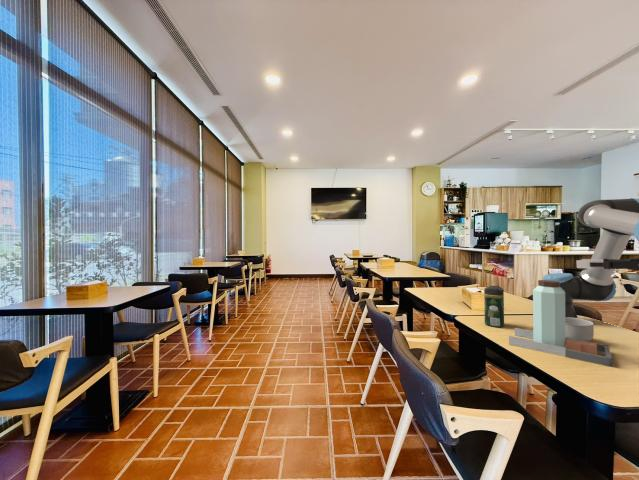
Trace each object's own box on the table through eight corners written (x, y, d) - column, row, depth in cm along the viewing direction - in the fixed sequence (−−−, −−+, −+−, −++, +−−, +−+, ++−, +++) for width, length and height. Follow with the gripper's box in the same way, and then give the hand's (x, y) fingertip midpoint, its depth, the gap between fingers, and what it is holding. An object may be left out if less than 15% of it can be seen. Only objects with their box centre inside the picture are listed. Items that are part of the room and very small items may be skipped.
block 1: (580, 352, 100) (580, 341, 100) (581, 355, 97) (581, 344, 97) (565, 349, 103) (565, 338, 103) (565, 352, 100) (565, 341, 100)
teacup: (601, 346, 106) (601, 325, 106) (568, 344, 108) (568, 323, 108) (575, 334, 119) (575, 315, 119) (547, 332, 121) (546, 314, 121)
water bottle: (527, 344, 108) (526, 280, 108) (541, 340, 112) (541, 278, 112) (557, 353, 98) (557, 283, 99) (572, 349, 103) (571, 282, 103)
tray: (608, 352, 100) (608, 345, 100) (612, 366, 88) (612, 359, 88) (566, 344, 107) (566, 337, 107) (565, 356, 96) (565, 349, 96)
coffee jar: (486, 320, 139) (485, 284, 139) (504, 323, 134) (504, 285, 134) (482, 325, 131) (482, 286, 131) (502, 328, 126) (502, 288, 126)
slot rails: (566, 344, 107) (566, 336, 107) (565, 356, 96) (565, 347, 96) (515, 334, 118) (515, 327, 118) (508, 344, 108) (508, 336, 108)
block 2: (596, 354, 98) (596, 343, 98) (596, 358, 95) (596, 346, 95) (580, 351, 101) (580, 340, 101) (580, 354, 98) (580, 343, 98)
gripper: (678, 280, 76) (575, 275, 92) (670, 274, 93) (583, 271, 109) (676, 253, 77) (573, 253, 93) (669, 252, 93) (582, 252, 109)
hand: (579, 263), depth 101 cm, fingers open, 13 cm apart
